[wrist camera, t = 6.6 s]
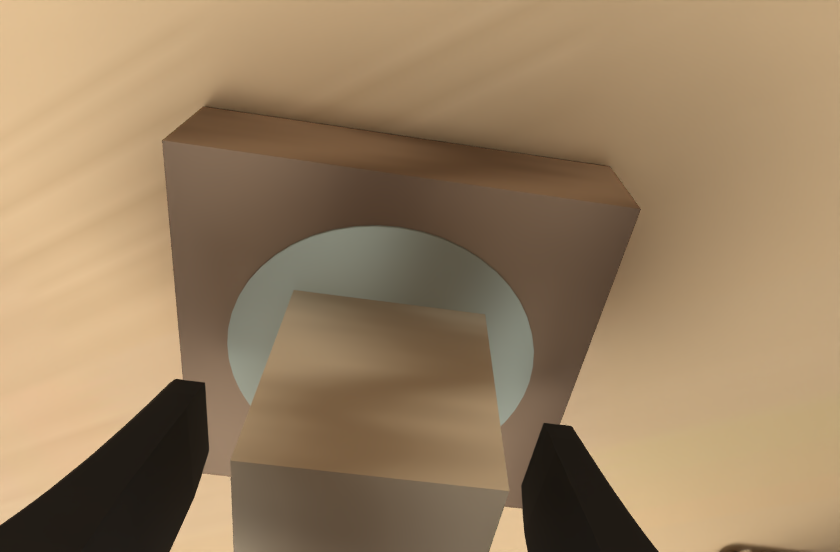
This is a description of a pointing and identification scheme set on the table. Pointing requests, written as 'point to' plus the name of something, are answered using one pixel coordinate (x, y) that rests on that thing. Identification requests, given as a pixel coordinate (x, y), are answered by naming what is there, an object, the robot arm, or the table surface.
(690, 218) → the table surface
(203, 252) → the plinth
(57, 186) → the table surface
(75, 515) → the robot arm
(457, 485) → the block
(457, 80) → the table surface
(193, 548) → the table surface
